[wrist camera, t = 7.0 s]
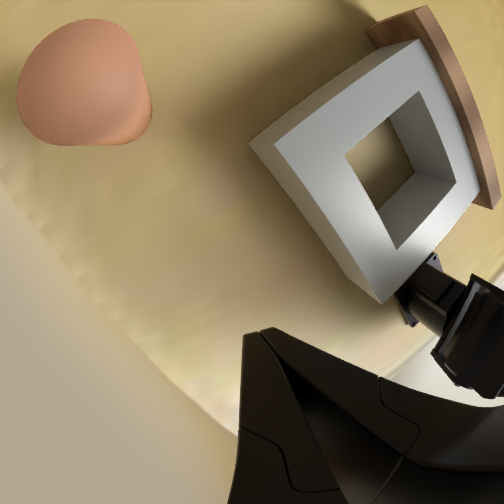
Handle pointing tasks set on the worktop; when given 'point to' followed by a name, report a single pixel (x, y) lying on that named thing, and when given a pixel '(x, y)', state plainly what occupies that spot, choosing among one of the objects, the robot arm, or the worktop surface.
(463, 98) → the walnut wall
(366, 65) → the socket block
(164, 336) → the worktop surface
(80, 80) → the dowel
